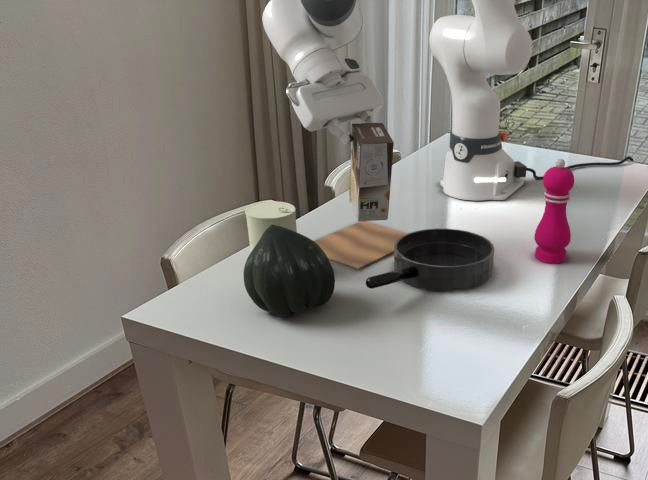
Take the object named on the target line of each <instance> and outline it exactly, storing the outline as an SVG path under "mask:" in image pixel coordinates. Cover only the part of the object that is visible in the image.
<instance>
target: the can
mask: <svg viewBox="0 0 648 480" xmlns="http://www.w3.org/2000/svg"><path fill="white" fill-rule="evenodd" d="M296 211H297V209H296V207H295V206H294V205H293V204H292V203H289V202H285V201H276V200H274V201H273V200H270V201H269V200H268V201H261V202H256V203H253V204H250V205H249V206H247V207H246V208H245V211H244V213H245V219H246V226H247V232H248V243H249V250H250V251H249V252H250V253H251V251H252V250H253V248H254V247H255V246H256V244H257V243H258V241H259V239H260V238H261V236H262V234H263V233H264V231H265V230H266V229H267V228H268V227H270V225H272V224H274V225H276V226H281V227H284V228H287V229H289V230H292V231H295V232H297V233H298V230H297V216H296V215H297V214H296Z"/></svg>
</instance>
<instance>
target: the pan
mask: <svg viewBox="0 0 648 480" xmlns="http://www.w3.org/2000/svg"><path fill="white" fill-rule="evenodd" d="M495 251H496V250H495V246H494V244H493V242H492V241H491V240H489V239H488V238H487V237H485V236H483V235H480V234H478V233H476V232H475V233H474V232H471V231H468V230H463V229H456V228H455V229H454V228H427V229H420V230H416V231H412V232H408V233H406V235H404V236H402V237H400V238H399V239H398V240H397V241H396V242H395V244H394V253H393V258H394V259H393V260H394V261H393V265H394V267H393V268H394V269H393V271H396V270H400V269H404V268H408V267H412V266H413V267H416V268H417V270H418V276H417V277H414V278H410V279H407V280H403V281H402V282H403V283H405V284H407V285H409V286H412V287H414V288H418V289H422V290H426V291H434V292H458V291H467V290H470V289H475V288H477V287H480V286H483V285H484V284H486V283H487V282H489V281H490V280H491V279H492V278H493V275H494V266H495V265H494V264H495Z"/></svg>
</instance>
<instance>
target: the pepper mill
mask: <svg viewBox="0 0 648 480" xmlns="http://www.w3.org/2000/svg"><path fill="white" fill-rule="evenodd" d="M566 167H567V166H566V161H565V159H563V158H557V160H556V161H555V166H552V167H550V168H548V169H547V170H546V171H545V173H544V174H543V176H544V177H543V176H542V177H543V179H542V185H543V187H544V189H545V190H544V192H543V194H544V195H543V199H544V200H545V206H544V211H543V214H542V217H541V218H540V221H539V223H538V224H537V226H536V228H535V231H534V236H533V240H534V242H535V244H536V245H537V246H536V247H535V250H534V257H535V259H536V260H537V261H539V262H541V263H544V264H552V265H553V264H562V263H564V262H565V261H566V259H567V253H568V252H567V249H566V248H567V247H568V246H569V244H570V243H571V238H572V233H571V228H570V225H569V221H568V216H567V206H568V203H569V202H570V200H571V198H570V196H571V192H570V191H572V189H573V188H574V186H575V175H574V172H573V171H571V169H568V168H566Z"/></svg>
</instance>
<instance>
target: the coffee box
mask: <svg viewBox="0 0 648 480" xmlns="http://www.w3.org/2000/svg"><path fill="white" fill-rule="evenodd" d="M386 128H387V127H386V126H385V124H384V123H383V122H374V123H365V122H361V123H351V130H350V131H351V132H350V133H351V135H352V136H353V138H354V140H353V141H352V142H351V143H350V160H349V161H350V165H349V193H348V194H349V195H348V201H349V204H350V206H351V208H352V211H353V213H354V216H355V218H356V221H357V222H361V221H366V222H374V221H375V222H376V221H387V220H388V219H389V210H390V199H391V198H390V196H391V187H392V186H391V185H392V184H391V183H392V173H393V172H392V171H393V157H394V147H395V142H394V141H393V138H392V137H391V135H390V134H389V131H388V130H387V129H386Z"/></svg>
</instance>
